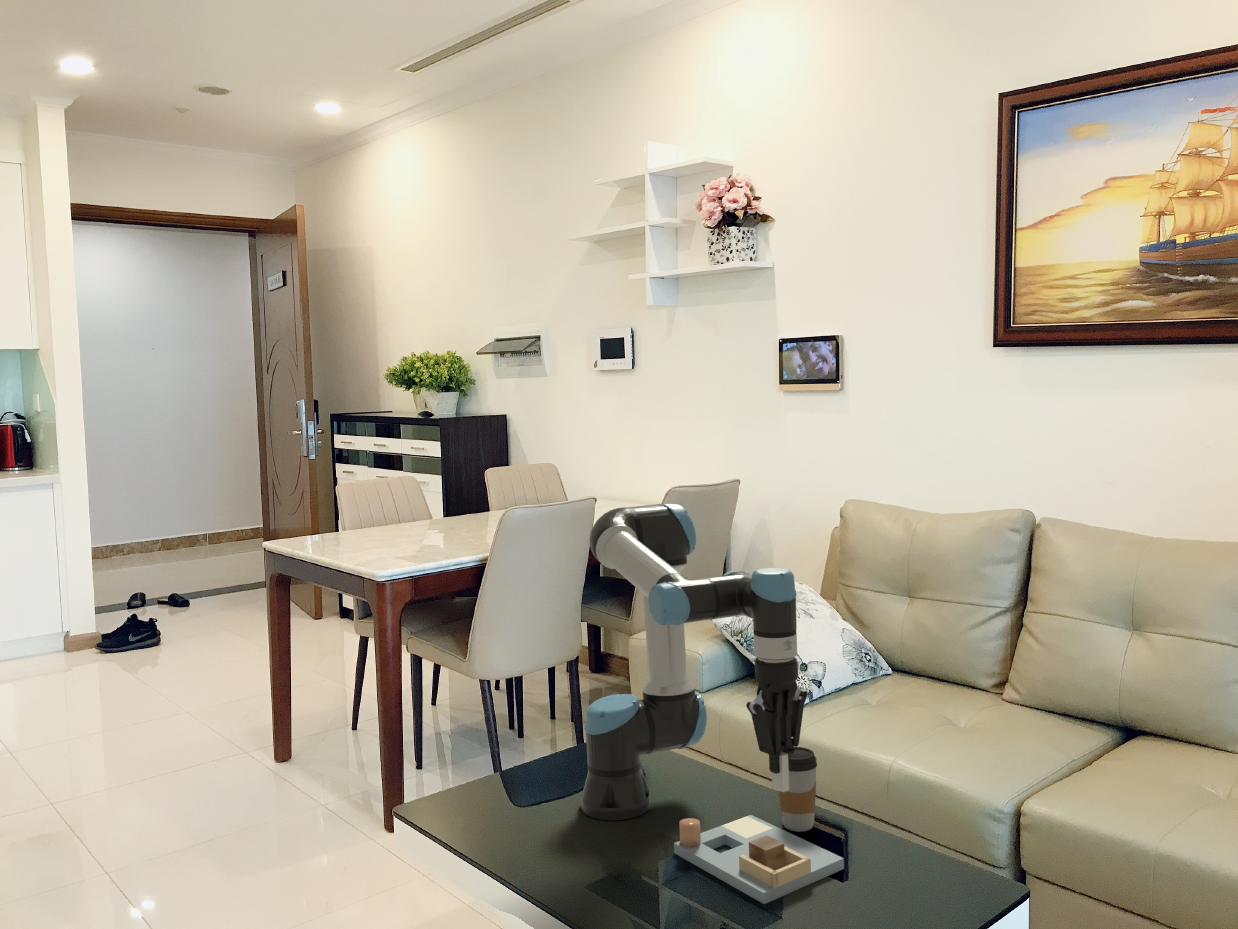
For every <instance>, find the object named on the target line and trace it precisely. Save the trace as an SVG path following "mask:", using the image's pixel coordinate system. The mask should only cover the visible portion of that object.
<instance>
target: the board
mask: <svg viewBox="0 0 1238 929" xmlns="http://www.w3.org/2000/svg"><path fill="white" fill-rule="evenodd" d="M700 833H701V844H700V845H699V846H697V847H692V848H689V847H684V846H682V845H681V844H680V840H679V841H676V842H674V843H673V854H675V855H677V856H679V857H680V858H682V859H683V860H686V861H687V862H689V863H691V864H692V865H694V866H697V867H698V868H700V869H701V870H703V871H705V872H707V873H709V874H710V875H712V876H714V877H716V879H719V880H721V881H722V882H724V883H725V884H727V885H730V886H731V887H733V888H735V889H736V890H738V891H740V892H741V893H744V894H745V895H747V896H749V897H751V898H752V899H754V900H755V901H758V902H760V903H761V904H762V905H766V904H769V903H770V902H772V901H775V900H777V899H779V898H781V897H784V896H787V895H789V894H790V893H793V892H795V891H797V890H799V889H801V888H804V887H806V886H809V885H812V884H813V883H815V882H817V881H820V880H822V879H825V878H826V877H829V876H832V875H833V874H836V873H837V872H841V871H842V870H844V869H845V868H844V867H845V861H844V860H845V859H844V857H842V856H840V855H838V854H836V853H834V852H831V851H829V850H827V849H825V848H822V847H820V846H818V845H816V844H814V843H812V842H810V841H808V840H806V839H804V838H801V837H799V836H797V835H795V834H793V833H791V832H789V831H787V830H784V829H782V828H780V827H777V826H775V825H773V824H771V823H769V822H767V821H764V820H763V819H761V818H759V817H756V816H754V815H752V814H749V815H746V816H743V817H741V818H739V819H735V820H733V821H730V822H728V823H725V824H722V825H719V826H716V827H714V828H711V829H708V830H706V831H703V832H700ZM765 835H768V836H770V837H772V838H774V839H776V840H778V841H780V842H782V843H784V854H785V867H783V868H780V869H778V870H776V871H774V870H772V869H770V868H768V867H766V866H764V865H763V864H761V863H759V862H757V861H755V860H753V859H751V858H749V842H750V841H753V840H755V839H758V838H760V837H763V836H765ZM725 845H726V846H728V847H729V848H731V849H727V850H725V851H722V852H718V851H717V850H715V849H718V848H719V847H722V846H725Z"/></svg>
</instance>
